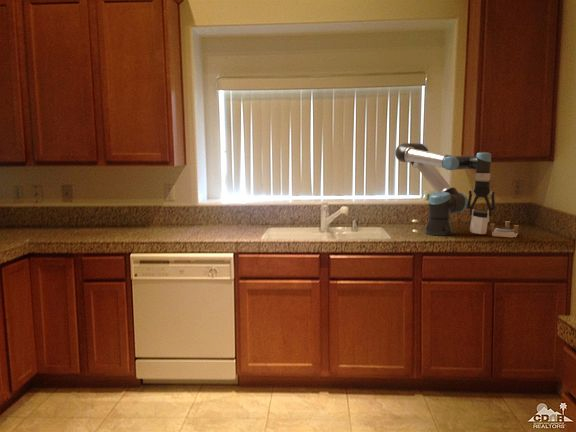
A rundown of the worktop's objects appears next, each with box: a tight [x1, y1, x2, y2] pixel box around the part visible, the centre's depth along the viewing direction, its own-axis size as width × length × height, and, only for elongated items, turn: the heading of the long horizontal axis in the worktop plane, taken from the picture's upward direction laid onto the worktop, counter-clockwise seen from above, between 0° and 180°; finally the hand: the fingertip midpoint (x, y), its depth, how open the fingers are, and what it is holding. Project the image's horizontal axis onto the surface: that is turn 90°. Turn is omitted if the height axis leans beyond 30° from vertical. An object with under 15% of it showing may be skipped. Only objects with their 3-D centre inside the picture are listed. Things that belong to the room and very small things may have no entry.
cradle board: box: [489, 220, 520, 238], centre depth 284 cm, size 15×16×7 cm
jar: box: [469, 209, 489, 235], centre depth 283 cm, size 9×8×12 cm
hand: (480, 221), depth 283 cm, fingers closed on jar, 7 cm apart
